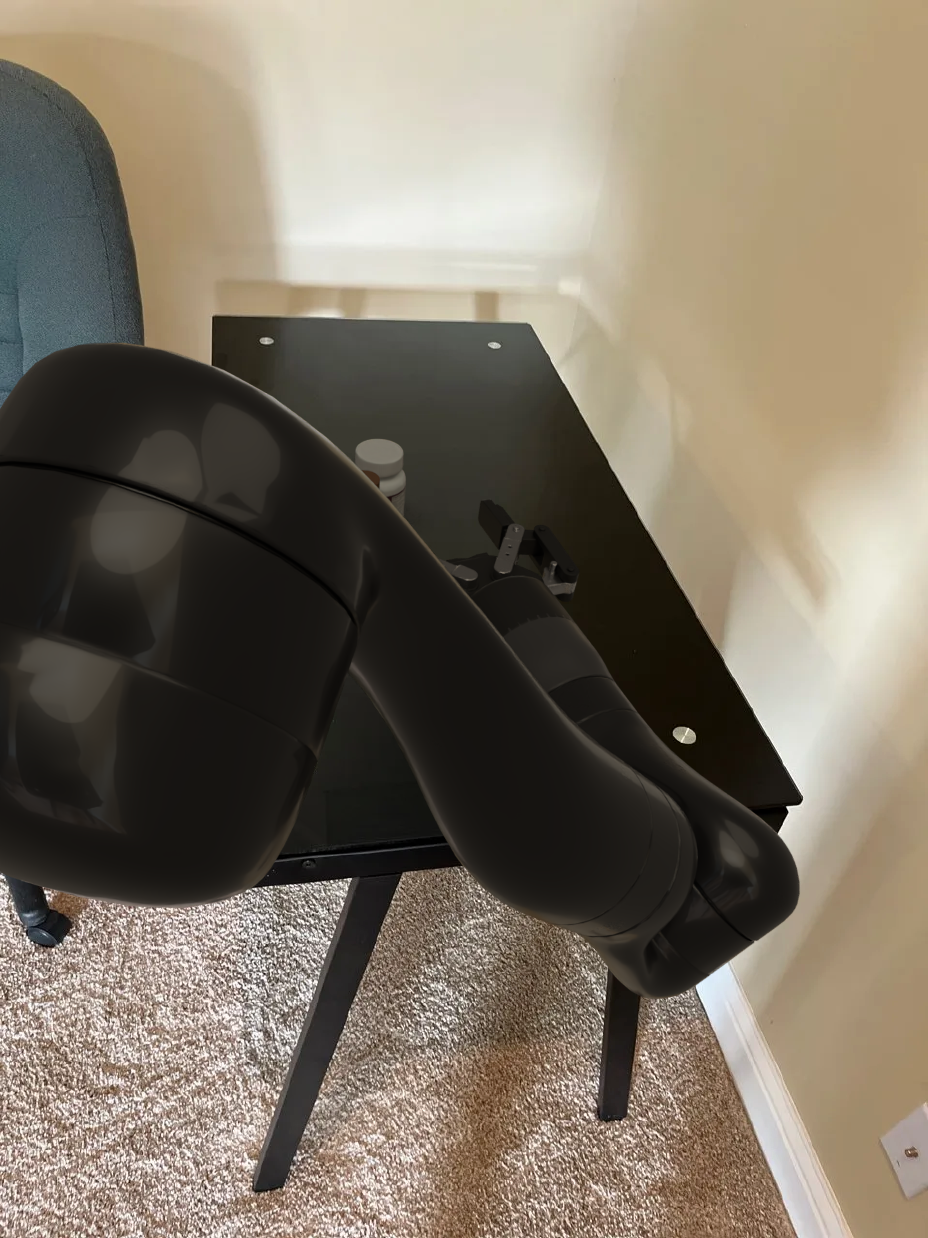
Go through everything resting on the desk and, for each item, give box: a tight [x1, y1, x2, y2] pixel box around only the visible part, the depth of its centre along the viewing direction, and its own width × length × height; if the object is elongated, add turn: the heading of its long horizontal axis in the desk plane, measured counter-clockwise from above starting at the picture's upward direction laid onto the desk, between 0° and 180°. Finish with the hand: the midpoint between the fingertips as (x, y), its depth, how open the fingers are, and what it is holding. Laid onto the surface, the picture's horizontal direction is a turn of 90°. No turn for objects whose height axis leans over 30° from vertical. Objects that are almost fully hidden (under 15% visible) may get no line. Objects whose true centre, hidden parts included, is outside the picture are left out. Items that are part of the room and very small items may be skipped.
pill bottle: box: [354, 438, 407, 517], centre depth 92 cm, size 6×6×11 cm
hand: (431, 517), depth 62 cm, fingers open, 8 cm apart
